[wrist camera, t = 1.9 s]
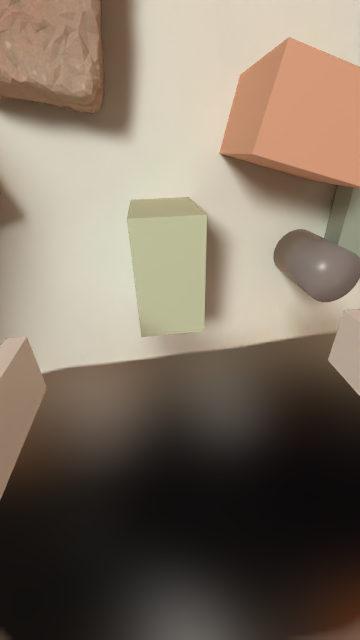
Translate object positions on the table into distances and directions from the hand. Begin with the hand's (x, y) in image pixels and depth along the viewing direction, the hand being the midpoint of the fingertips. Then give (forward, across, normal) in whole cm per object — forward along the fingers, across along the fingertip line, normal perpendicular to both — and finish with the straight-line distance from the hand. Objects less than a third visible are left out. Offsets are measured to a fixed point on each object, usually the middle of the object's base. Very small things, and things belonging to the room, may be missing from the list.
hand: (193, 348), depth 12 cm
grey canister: (+14, +12, -1) cm, 18 cm away
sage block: (+14, 0, 0) cm, 14 cm away
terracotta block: (+14, +8, +8) cm, 18 cm away
